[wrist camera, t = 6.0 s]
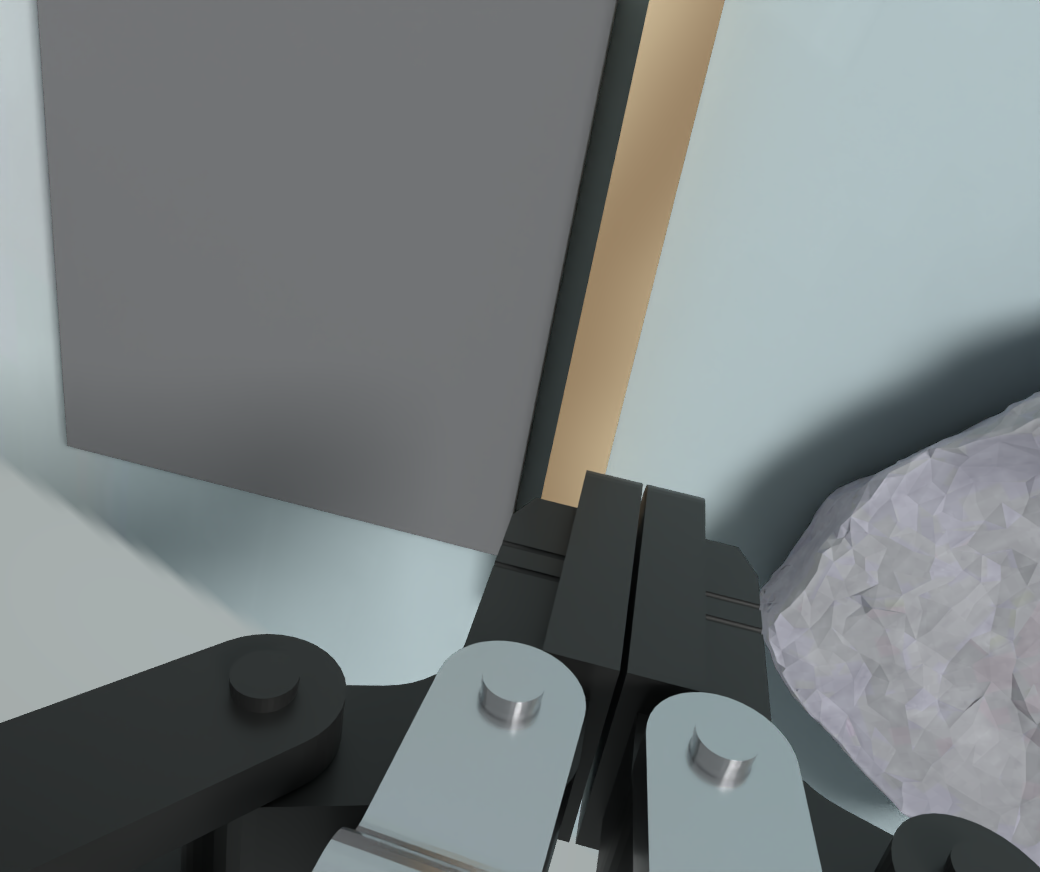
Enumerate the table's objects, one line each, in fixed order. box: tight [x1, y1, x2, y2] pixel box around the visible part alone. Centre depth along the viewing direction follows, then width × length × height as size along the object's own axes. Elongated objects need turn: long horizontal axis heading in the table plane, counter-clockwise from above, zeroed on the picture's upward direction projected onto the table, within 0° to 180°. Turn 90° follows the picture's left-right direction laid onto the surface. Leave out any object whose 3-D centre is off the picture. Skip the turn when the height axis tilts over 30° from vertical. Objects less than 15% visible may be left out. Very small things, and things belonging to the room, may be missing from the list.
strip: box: [541, 0, 725, 508], centre depth 18 cm, size 1×14×1 cm, turn 170°
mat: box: [37, 0, 618, 555], centre depth 19 cm, size 11×12×1 cm
